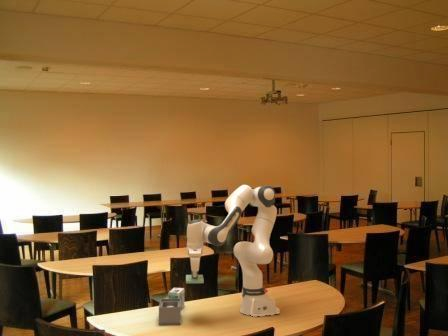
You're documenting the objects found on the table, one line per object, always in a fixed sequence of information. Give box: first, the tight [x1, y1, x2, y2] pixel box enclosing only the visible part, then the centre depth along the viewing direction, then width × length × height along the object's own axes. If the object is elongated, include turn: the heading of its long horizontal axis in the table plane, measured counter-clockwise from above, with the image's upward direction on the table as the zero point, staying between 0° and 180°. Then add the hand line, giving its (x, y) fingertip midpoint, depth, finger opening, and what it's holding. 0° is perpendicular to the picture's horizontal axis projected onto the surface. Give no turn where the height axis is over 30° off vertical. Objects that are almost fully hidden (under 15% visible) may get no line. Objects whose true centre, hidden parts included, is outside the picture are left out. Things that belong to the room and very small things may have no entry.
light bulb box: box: [167, 287, 185, 310], centre depth 262 cm, size 11×7×11 cm, turn 168°
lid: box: [185, 270, 205, 284], centre depth 243 cm, size 9×13×5 cm
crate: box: [158, 298, 182, 326], centre depth 243 cm, size 11×15×9 cm
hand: (194, 276), depth 243 cm, fingers closed on lid, 3 cm apart
